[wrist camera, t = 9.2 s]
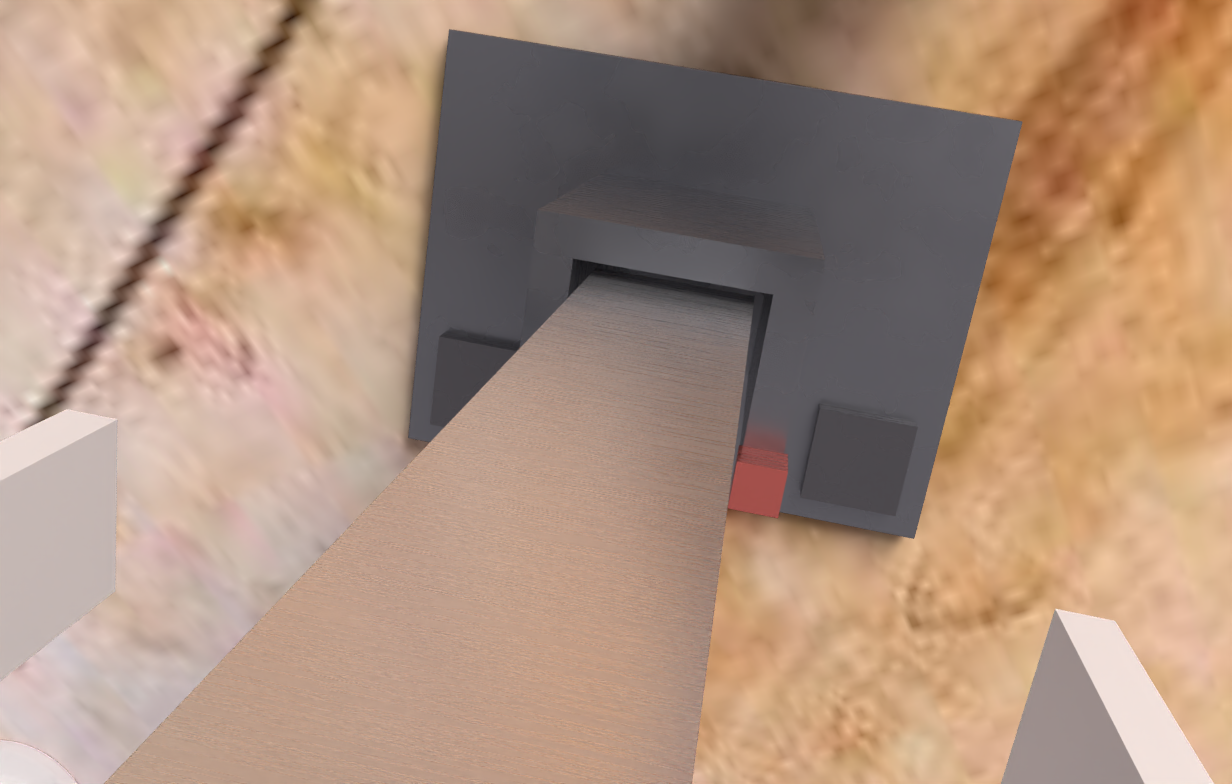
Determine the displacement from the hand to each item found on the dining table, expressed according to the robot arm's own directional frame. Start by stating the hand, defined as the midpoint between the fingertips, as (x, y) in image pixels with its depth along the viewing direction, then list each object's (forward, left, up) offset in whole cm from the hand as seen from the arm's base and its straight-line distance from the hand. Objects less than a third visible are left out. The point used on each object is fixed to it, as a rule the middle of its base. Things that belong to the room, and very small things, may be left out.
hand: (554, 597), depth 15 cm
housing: (0, 0, -23) cm, 23 cm away
